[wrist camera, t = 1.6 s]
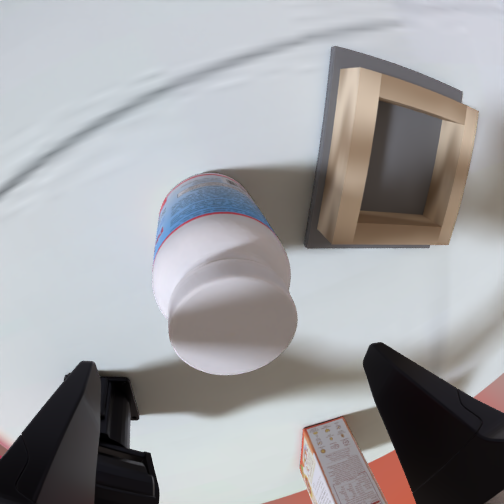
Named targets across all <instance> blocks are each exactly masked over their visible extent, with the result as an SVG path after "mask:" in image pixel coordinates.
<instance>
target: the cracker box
mask: <svg viewBox="0 0 504 504" xmlns="http://www.w3.org/2000/svg"><path fill="white" fill-rule="evenodd" d="M300 471H301V474H302V477H303V479H304V482H305V485H306V487H307V490H308V493H309V495H310V498H311V500H312V503H313V504H388V503H387V501H386V499H385V497H384V495H383V493H382V491H381V489H380V487H379V485H378V483H377V481H376V479H375V478H374V475H373V473H372V471H371V469H370V468H369V466H368V464H367V462H366V460H365V458H364V456H363V454H362V452H361V450H360V448H359V446H358V444H357V442H356V440H355V438H354V436H353V435H352V433H351V431H350V428H349V427H348V425H347V422H346V421H345V419H344V417H340V418H337V419H334V420H330V421H327V422H324V423H321V424H318V425H314V426H311V427H307V428H304V429H303V437H302V449H301V460H300Z"/></svg>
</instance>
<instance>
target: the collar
mask: <svg viewBox="0 0 504 504" xmlns="http://www.w3.org/2000/svg"><path fill="white" fill-rule="evenodd" d="M378 101H383V102H386V103H390V104H394V105H397V106H401V107H404V108H407V109H411V110H414V111H417V112H420V113H423V114H426V115H429V116H432V117H435V118H438V119H441V120H442V125H441V132H440V138H439V143H438V149H437V154H436V159H435V164H434V169H433V174H432V179H431V183H430V188H429V192H428V196H427V200H426V204H425V208H424V212H423V215H417V214H404V213H391V212H376V211H360V207H361V202H362V198H363V193H364V187H365V182H366V177H367V172H368V166H369V160H370V155H371V149H372V142H373V136H374V130H375V123H376V116H377V109H378ZM478 113H479V111H477V110H475V109H473V108H471V107H468V106H466V105H464V104H462V103H460V102H457V101H455V100H453V99H450V98H448V97H446V96H443V95H441V94H438V93H436V92H433V91H431V90H428V89H426V88H423V87H420V86H418V85H415V84H412V83H409V82H406V81H404V80H401V79H398V78H395V77H391V76H388V75H385V74H382V73H379V72H375V71H372V70H369V69H365V68H361V67H356V68H346V69H340V77H339V86H338V95H337V103H336V111H335V118H334V126H333V133H332V140H331V147H330V154H329V161H328V167H327V174H326V180H325V186H324V192H323V198H322V204H321V210H320V215H319V221H318V227H317V229H318V230H319V231H320V232H321V233H322V235H323V236H324V237H325V238H326V239H327V240H328V241H329V242H330V243H331V244H356V245H449V242H450V238H451V235H452V232H453V229H454V225H455V222H456V218H457V215H458V211H459V208H460V204H461V200H462V196H463V192H464V188H465V184H466V179H467V175H468V170H469V166H470V161H471V156H472V151H473V145H474V140H475V134H476V127H477V120H478Z"/></svg>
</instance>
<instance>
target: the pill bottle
mask: <svg viewBox="0 0 504 504" xmlns="http://www.w3.org/2000/svg"><path fill="white" fill-rule="evenodd" d="M290 279H291V271H290V263H289V260H288V256H287V254H286V251H285V249H284V247H283V246H282V244H281V242H280V240H279V239H278V237H277V236H276V234H275V233H274V231H273V230H272V228H271V226H270V225H269V223H268V222H267V220H266V219H265V217H264V216H263V214H262V213H261V211H260V210H259V208H258V207H257V205H256V204H255V202H254V201H253V199H252V198H251V197H250V195H249V193H248V192H247V191H246V190H245V188H244V187H243V186H242V185H241V184H239V183H238V182H237V181H235V180H234V179H232V178H230V177H228V176H226V175H222V174H218V173H201V174H197V175H194V176H191V177H189V178H187V179H185V180H183V181H182V182H180V183H179V184H177V185H176V186H175V187H174V188H173V189H172V190H171V191H170V192H169V193H168V194H167V196H166V197H165V199H164V201H163V203H162V206H161V209H160V213H159V220H158V228H157V236H156V244H155V251H154V261H153V270H152V287H153V293H154V297H155V300H156V302H157V305H158V307H159V309H160V310H161V312H162V313H163V315H164V316H165V317H166V318H167V320H168V328H169V338H170V342H171V344H172V346H173V348H174V350H175V352H176V353H177V355H178V356H179V357H180V358H181V359H182V360H183V361H184V362H186V363H187V364H188V365H190V366H191V367H194V368H196V369H198V370H200V371H203V372H206V373H210V374H216V375H236V374H242V373H247V372H250V371H253V370H256V369H259V368H261V367H263V366H265V365H267V364H268V363H270V362H271V361H273V360H274V359H276V358H277V357H278V356H279V355H280V354H281V353H282V352H283V351H284V350H285V349H286V348H287V347H288V345H289V344H290V342H291V341H292V339H293V337H294V334H295V331H296V328H297V311H296V307H295V304H294V301H293V299H292V297H291V295H290V293H289V287H290Z"/></svg>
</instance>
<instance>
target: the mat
mask: <svg viewBox="0 0 504 504" xmlns="http://www.w3.org/2000/svg"><path fill="white" fill-rule="evenodd" d="M356 67H361V68H365V69H369V70H372V71H375V72H379V73H382V74H385V75H388V76H391V77H395V78H398V79H401V80H404V81H406V82H409V83H412V84H415V85H418V86H420V87H423V88H426V89H428V90H431V91H433V92H436V93H438V94H441V95H443V96H446V97H448V98H450V99H453V100H455V101H457V102H460V103H461V99H462V91H460V90H458V89H456V88H454V87H451V86H449V85H447V84H445V83H442V82H440V81H438V80H435V79H433V78H431V77H428V76H426V75H423V74H421V73H418V72H416V71H413V70H411V69H408V68H405V67H402V66H400V65H397V64H394V63H391V62H388V61H385V60H382V59H379V58H376V57H373V56H370V55H366V54H363V53H360V52H356V51H352V50H349V49H345V48H341V47H337V46H334V47H331V57H330V66H329V75H328V84H327V93H326V101H325V110H324V117H323V125H322V133H321V140H320V147H319V154H318V161H317V168H316V175H315V181H314V188H313V194H312V201H311V207H310V213H309V219H308V225H307V231H306V237H305V242H304V245H305V247H306V248H429V247H430V245H356V244H331V243H330V242H329V241H328V240H327V239H326V238H325V237H324V236H323V235H322V233H321V232H320V231H319V230H318V229H317V227H318V221H319V215H320V210H321V204H322V198H323V192H324V186H325V180H326V174H327V167H328V161H329V154H330V147H331V140H332V133H333V126H334V118H335V111H336V103H337V95H338V86H339V77H340V69H346V68H356ZM441 125H442V120H441V119H438V118H435V117H432V116H429V115H426V114H423V113H420V112H417V111H414V110H411V109H407V108H404V107H401V106H397V105H394V104H390V103H386V102H383V101H378V109H377V116H376V123H375V130H374V136H373V142H372V149H371V155H370V160H369V166H368V172H367V177H366V182H365V187H364V193H363V198H362V202H361V207H360V211H376V212H391V213H404V214H417V215H423V212H424V208H425V204H426V200H427V196H428V192H429V188H430V183H431V179H432V174H433V169H434V164H435V159H436V154H437V149H438V143H439V138H440V132H441Z"/></svg>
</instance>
